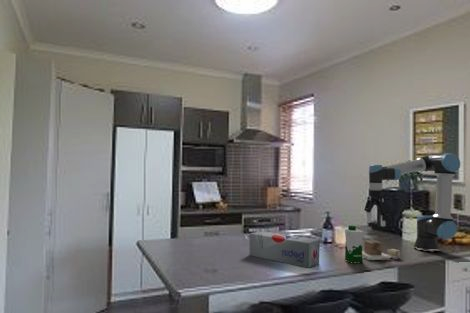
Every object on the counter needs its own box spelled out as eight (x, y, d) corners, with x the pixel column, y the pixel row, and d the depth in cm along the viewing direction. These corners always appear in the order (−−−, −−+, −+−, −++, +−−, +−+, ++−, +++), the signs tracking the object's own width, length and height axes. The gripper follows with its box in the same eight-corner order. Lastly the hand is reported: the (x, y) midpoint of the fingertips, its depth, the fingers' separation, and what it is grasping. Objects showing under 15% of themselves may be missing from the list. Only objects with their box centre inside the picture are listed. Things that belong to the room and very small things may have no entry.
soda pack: (320, 264, 199) (320, 239, 199) (309, 269, 189) (309, 242, 189) (260, 251, 225) (261, 229, 225) (248, 255, 215) (248, 232, 215)
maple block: (392, 257, 219) (392, 248, 219) (399, 258, 215) (399, 250, 215) (387, 258, 216) (387, 249, 216) (394, 259, 212) (395, 251, 212)
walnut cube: (374, 251, 220) (374, 240, 220) (381, 254, 213) (381, 242, 213) (364, 252, 219) (364, 240, 219) (371, 255, 212) (371, 243, 212)
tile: (376, 254, 224) (376, 250, 224) (390, 260, 211) (390, 256, 211) (356, 255, 221) (356, 251, 221) (369, 261, 207) (369, 256, 208)
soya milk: (355, 259, 211) (356, 225, 211) (365, 263, 202) (365, 227, 203) (342, 260, 208) (343, 225, 209) (351, 264, 200) (352, 228, 200)
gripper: (358, 188, 232) (358, 221, 231) (383, 191, 208) (383, 228, 207) (368, 188, 234) (369, 221, 233) (394, 191, 210) (394, 227, 209)
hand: (375, 224), depth 220 cm, fingers open, 13 cm apart
